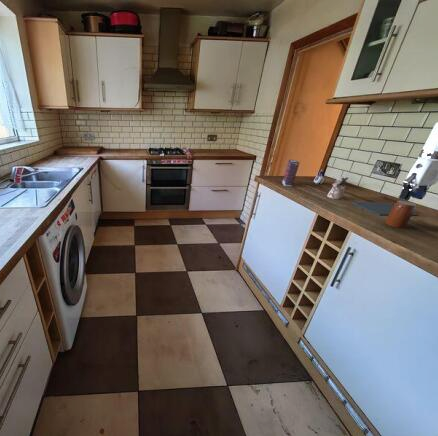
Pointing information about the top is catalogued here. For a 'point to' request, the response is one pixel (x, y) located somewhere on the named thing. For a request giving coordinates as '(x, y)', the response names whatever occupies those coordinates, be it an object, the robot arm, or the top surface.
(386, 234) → the top surface
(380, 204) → the mat
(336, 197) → the figurine
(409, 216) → the jar
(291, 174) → the supplement box
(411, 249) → the top surface
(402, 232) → the top surface
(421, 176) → the robot arm
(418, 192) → the lid
